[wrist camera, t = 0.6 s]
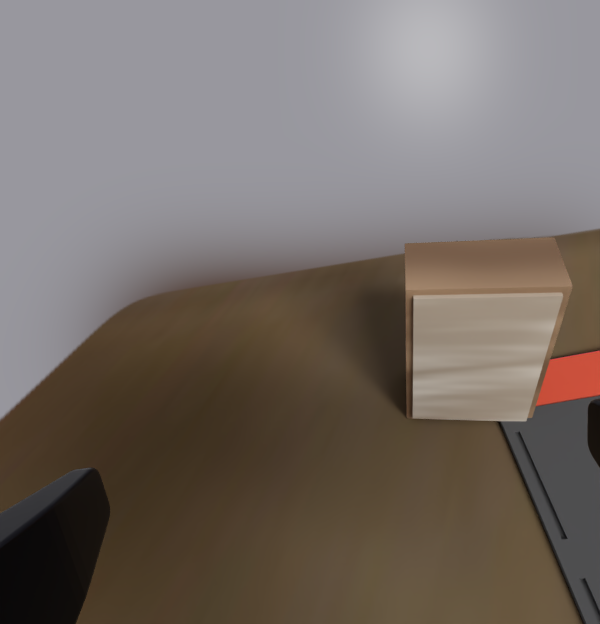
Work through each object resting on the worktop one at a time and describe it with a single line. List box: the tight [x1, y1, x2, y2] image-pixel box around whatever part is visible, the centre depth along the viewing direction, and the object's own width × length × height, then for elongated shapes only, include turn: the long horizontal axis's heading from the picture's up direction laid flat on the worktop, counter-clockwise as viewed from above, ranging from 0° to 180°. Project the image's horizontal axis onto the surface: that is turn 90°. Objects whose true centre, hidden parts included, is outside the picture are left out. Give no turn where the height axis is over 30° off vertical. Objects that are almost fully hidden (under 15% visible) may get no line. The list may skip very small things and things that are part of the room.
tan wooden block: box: [405, 237, 573, 421], centre depth 23 cm, size 3×6×9 cm, turn 82°
